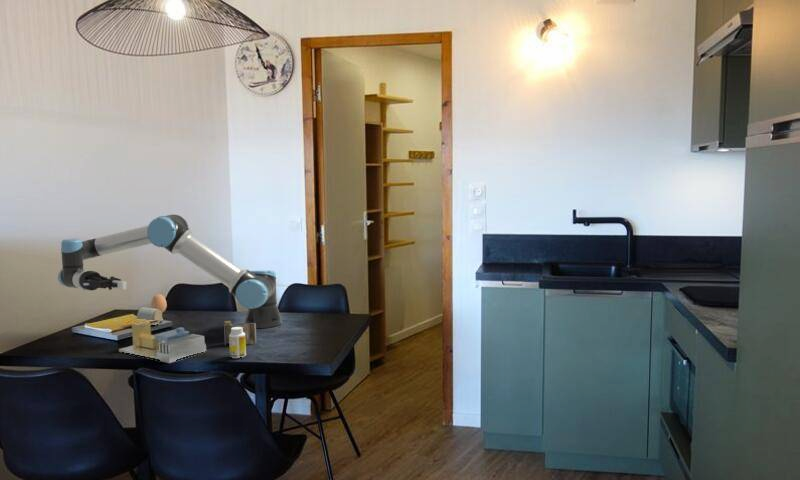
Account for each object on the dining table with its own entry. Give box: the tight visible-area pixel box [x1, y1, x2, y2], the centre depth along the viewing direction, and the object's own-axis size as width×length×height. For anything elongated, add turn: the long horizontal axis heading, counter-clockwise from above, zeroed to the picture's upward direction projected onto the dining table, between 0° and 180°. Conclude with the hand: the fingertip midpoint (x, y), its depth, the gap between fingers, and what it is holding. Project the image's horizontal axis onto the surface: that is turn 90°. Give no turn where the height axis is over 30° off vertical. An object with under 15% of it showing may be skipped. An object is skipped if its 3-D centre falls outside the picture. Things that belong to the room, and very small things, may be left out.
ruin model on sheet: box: [223, 320, 257, 346], centre depth 248 cm, size 11×3×10 cm, turn 96°
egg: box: [150, 293, 168, 314], centre depth 302 cm, size 7×7×9 cm
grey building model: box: [118, 326, 207, 364], centre depth 238 cm, size 28×16×8 cm, turn 57°
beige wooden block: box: [131, 321, 163, 349], centre depth 242 cm, size 11×5×8 cm, turn 57°
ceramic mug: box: [136, 306, 164, 321], centre depth 281 cm, size 11×8×8 cm
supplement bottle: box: [228, 327, 247, 359], centre depth 230 cm, size 6×6×10 cm
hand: (124, 285), depth 246 cm, fingers closed
